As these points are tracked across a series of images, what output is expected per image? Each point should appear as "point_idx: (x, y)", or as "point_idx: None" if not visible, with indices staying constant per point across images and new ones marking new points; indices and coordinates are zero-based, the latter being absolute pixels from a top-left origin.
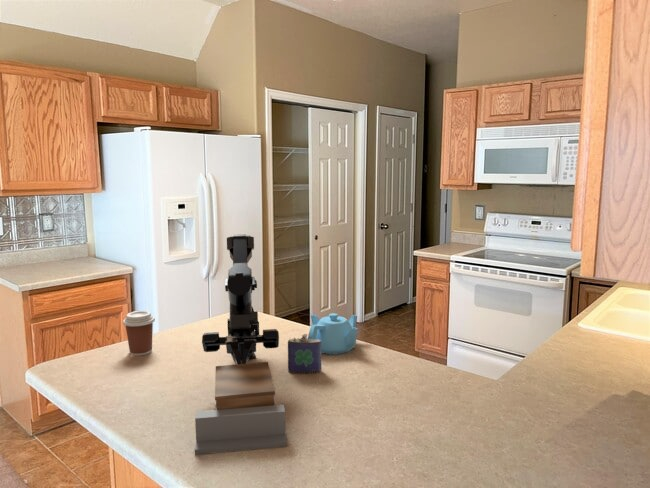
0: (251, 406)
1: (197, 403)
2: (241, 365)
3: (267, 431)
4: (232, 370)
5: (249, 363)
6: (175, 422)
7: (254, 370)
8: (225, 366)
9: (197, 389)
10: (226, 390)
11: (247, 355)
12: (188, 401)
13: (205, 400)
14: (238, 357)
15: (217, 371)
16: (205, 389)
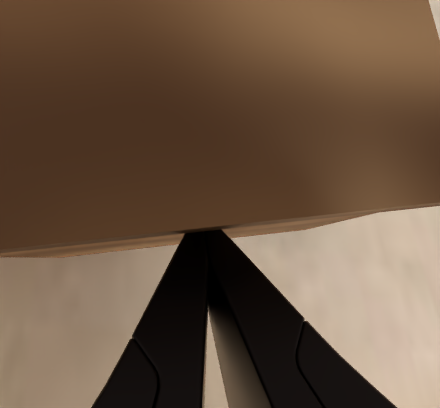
0: None
1: (389, 221)
2: (205, 181)
3: None
4: (290, 61)
5: (103, 235)
6: None
7: (45, 17)
8: (382, 178)
9: (430, 376)
10: None
11: (111, 378)
12: (431, 245)
13: (362, 247)
14: (270, 335)
15: (429, 64)
16: (392, 374)
